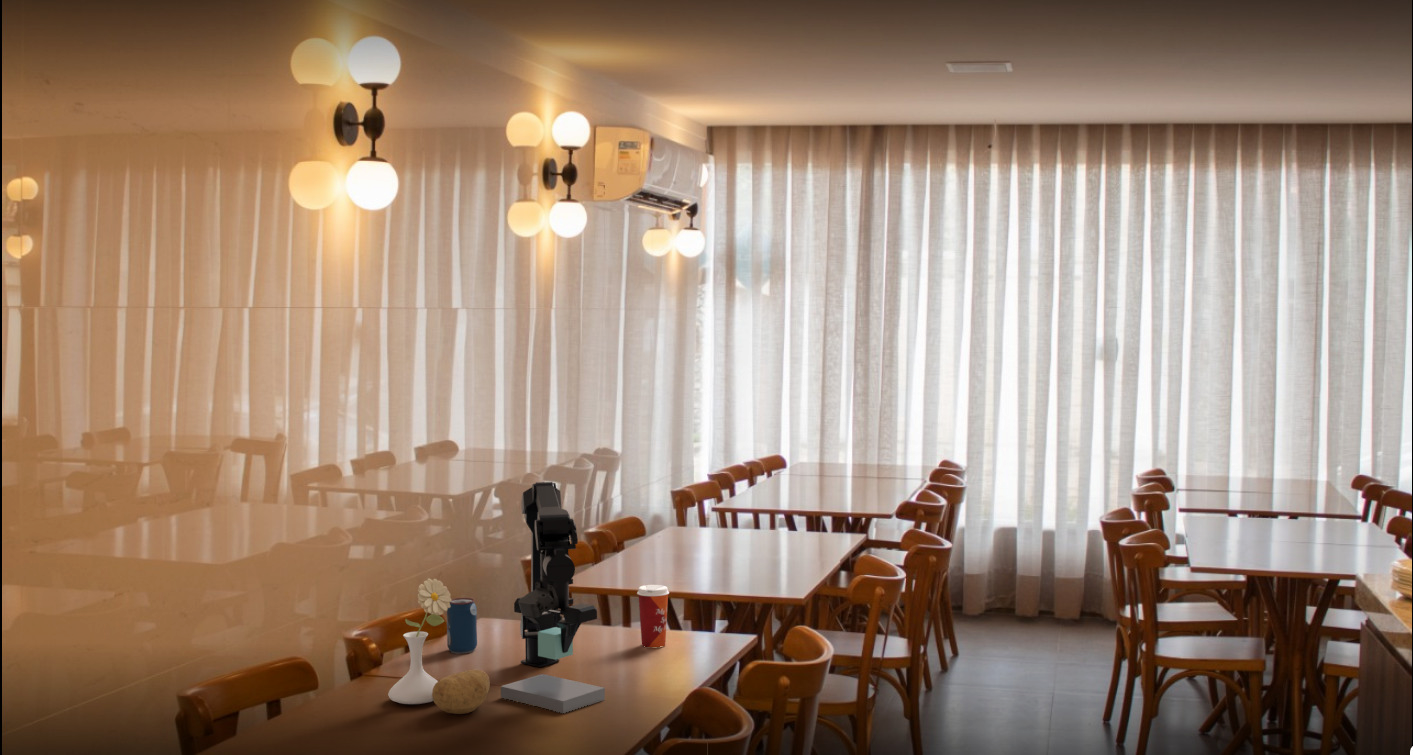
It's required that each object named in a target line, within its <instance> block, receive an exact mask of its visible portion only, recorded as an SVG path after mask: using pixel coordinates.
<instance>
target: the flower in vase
mask: <svg viewBox="0 0 1413 755" xmlns="http://www.w3.org/2000/svg"><path fill="white" fill-rule="evenodd" d="M417 592H418V594H417V600H418V601H417V603H418V605H420V607H421V608H422V609H423V610H424V612H425V615H424V618H423V620H422V622H421V624H420V623H418V622H415V621H414V622H413V621H412V620H409V619H407V618H405V623H406V624H407V625H408V626H411V627H416V628H418V630H417V631H410V632H409V631H408V632H406V633H404V634H403V635H402V636H403V638H404V639H405V640H406V642H407V645H408V648H409V653H410V656H409V657H410V665H409V670H408V671H407V673H405V675H404V676H403V677H401V678H400V679H399V680H398V681H397V682H396V683H395V684H394V685H392V687H391V688H390V689H389V691H388V694H387V696H388V698H389V699H390V700H391V701H393V702H396V703H399V704H402V705H420V704H426V703H432V702H434V700H433V697H432V691H433V687H434V686H435V684H436V683H437V682H438V681H439V680H437V679H436V678H434V677H433V676H431V675H430V674H429V673H427V671H425V670H424V667H423V659H422V656H423V648H424V643H425V641H426V639H427V637H428V635H429V633H428V632H427V631H421V630H422V627H423V625H424V624H425V622H427V624H429V625H430V626H432V627H436V626H440V625H442V624H443V623H444V622H445V619H444V618H443V617H442V616H441V615H443V614H444V612H447V609H448V608H450V603H449V602H451V601H452V598H451V593H450V590H448V587H447V586H444V583H443V581H441V580H437V578H433V579H431V578H427V580H424V581H423V584H422V583H420V585H419V586H418V589H417ZM428 614H429V615H428Z"/></svg>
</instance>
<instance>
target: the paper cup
mask: <svg viewBox="0 0 1413 755" xmlns="http://www.w3.org/2000/svg"><path fill="white" fill-rule="evenodd" d="M669 594H670V591H669V588H668V586H665V585H663V584H662V585H661V584H647V585H646V584H645V585H641V586H639V587H638V590H637V593H636V595H638V605H639V606H638V607H639V608H638V609H639V621H640V622H639V623H640V624H639V626H640V638H641V639H640V640H641V647H643V646H645V647H660V646H664V645H665V646H666V642H667V641H666V639H667V620H668V604H669V603H668V602H669V601H668V600H669V599H668V598H669ZM665 646H664V647H665ZM645 647H644V648H645Z"/></svg>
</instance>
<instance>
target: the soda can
mask: <svg viewBox="0 0 1413 755" xmlns="http://www.w3.org/2000/svg"><path fill="white" fill-rule="evenodd" d="M451 599H452V598H451ZM449 603H450V608H448V609H447V611H446V639H447V640H446V641H447V644H446V645H447V648H448V650H449V652H450V653H452V654H458V655H459V654H462V655H463V654H469V653H473V652H474V651H475V650H476V648H477V646H478V624H477V623H478V620H477V618H478V616H477V615H478V614H477V605H476V604H475V600H474V598H470V597H457V598H453V599H452V601H451V602H449Z"/></svg>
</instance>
